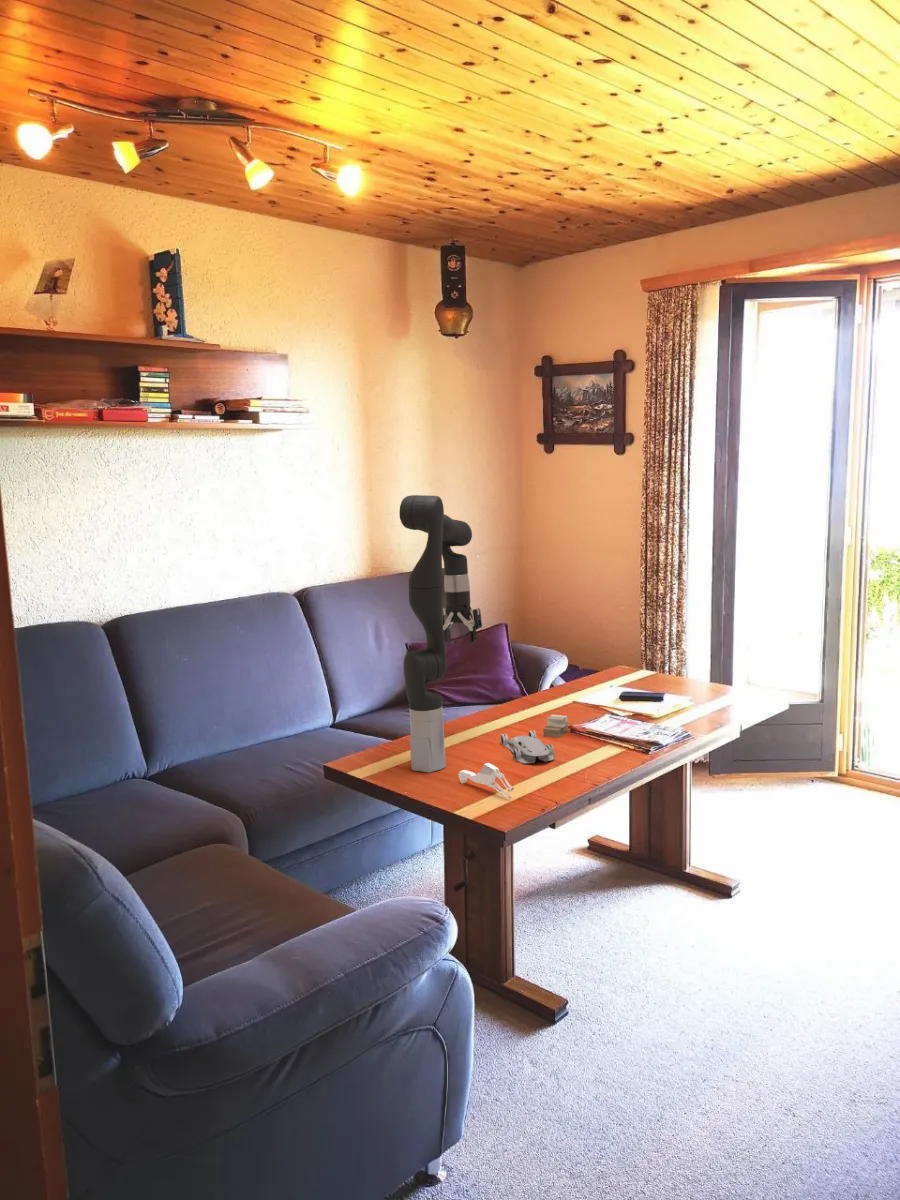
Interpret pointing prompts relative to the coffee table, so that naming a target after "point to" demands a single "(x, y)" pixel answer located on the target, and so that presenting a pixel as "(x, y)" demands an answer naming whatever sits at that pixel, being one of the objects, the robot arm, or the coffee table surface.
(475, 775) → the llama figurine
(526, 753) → the car model
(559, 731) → the chock
